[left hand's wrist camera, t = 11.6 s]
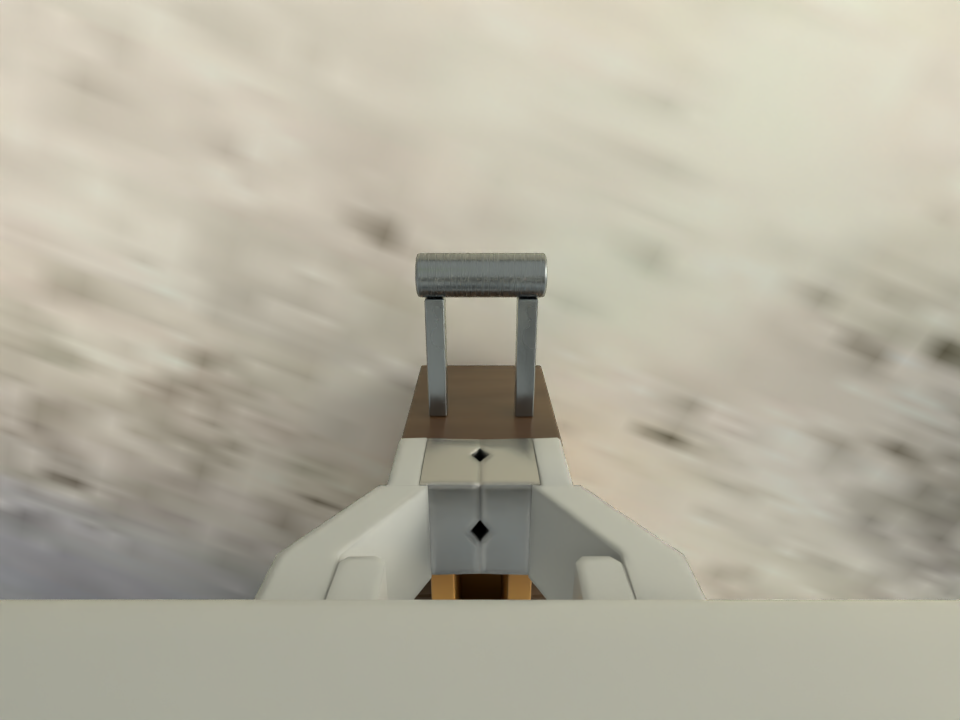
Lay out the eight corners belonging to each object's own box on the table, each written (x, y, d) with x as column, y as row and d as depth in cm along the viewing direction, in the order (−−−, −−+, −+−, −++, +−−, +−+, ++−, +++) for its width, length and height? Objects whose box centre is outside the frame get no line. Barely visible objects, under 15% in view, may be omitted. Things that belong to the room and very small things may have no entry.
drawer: (415, 232, 20) (388, 267, 14) (546, 232, 20) (574, 267, 14) (435, 686, 28) (423, 823, 23) (526, 686, 28) (538, 823, 23)
